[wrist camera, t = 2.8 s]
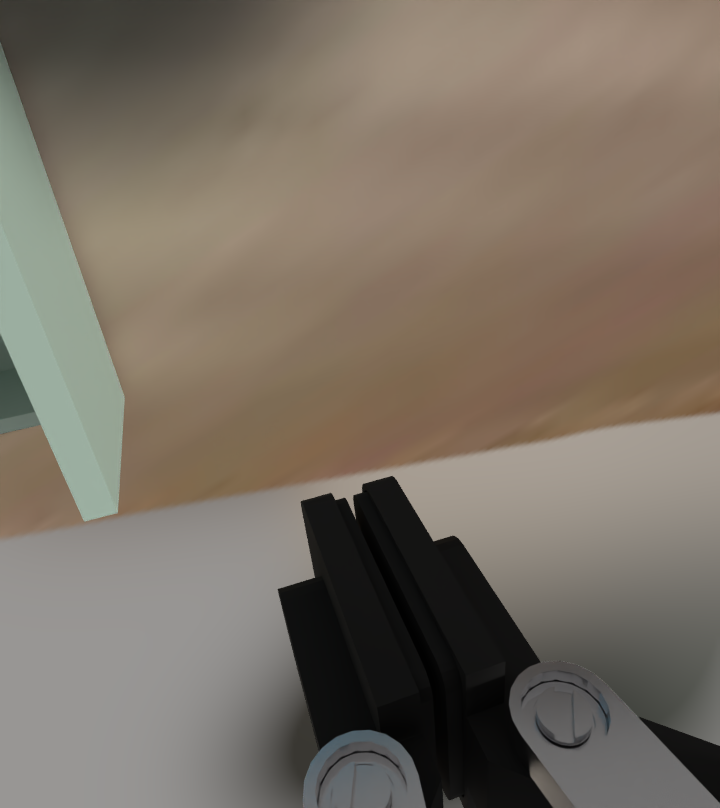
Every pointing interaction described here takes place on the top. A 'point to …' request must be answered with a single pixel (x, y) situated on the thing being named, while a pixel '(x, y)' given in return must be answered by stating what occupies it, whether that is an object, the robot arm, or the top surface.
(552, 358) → the top surface
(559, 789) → the robot arm
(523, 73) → the top surface
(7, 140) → the tray
